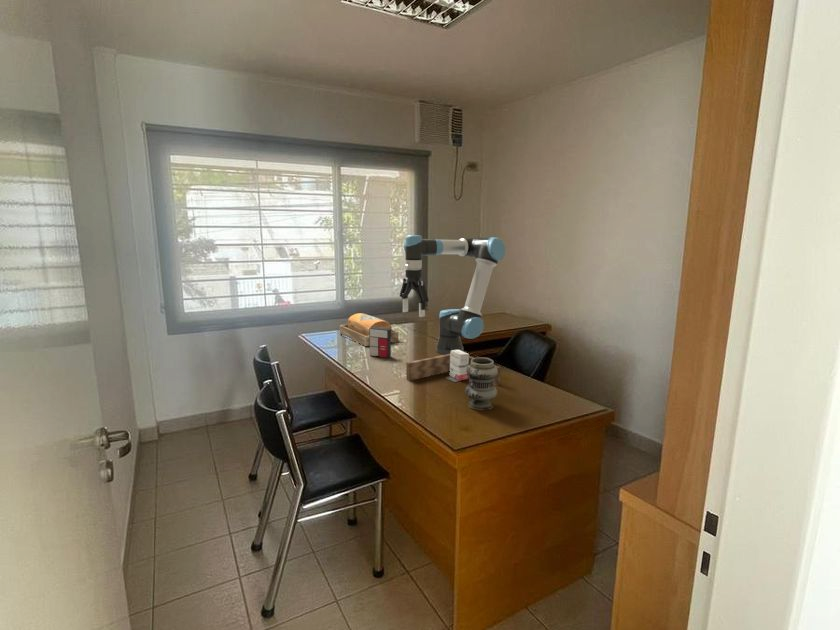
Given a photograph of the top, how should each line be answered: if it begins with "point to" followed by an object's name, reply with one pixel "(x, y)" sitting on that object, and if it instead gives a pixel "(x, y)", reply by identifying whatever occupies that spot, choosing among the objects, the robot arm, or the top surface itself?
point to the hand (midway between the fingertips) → (413, 314)
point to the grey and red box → (380, 342)
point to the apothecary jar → (481, 383)
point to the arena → (436, 368)
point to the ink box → (459, 364)
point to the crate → (362, 338)
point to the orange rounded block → (366, 323)
